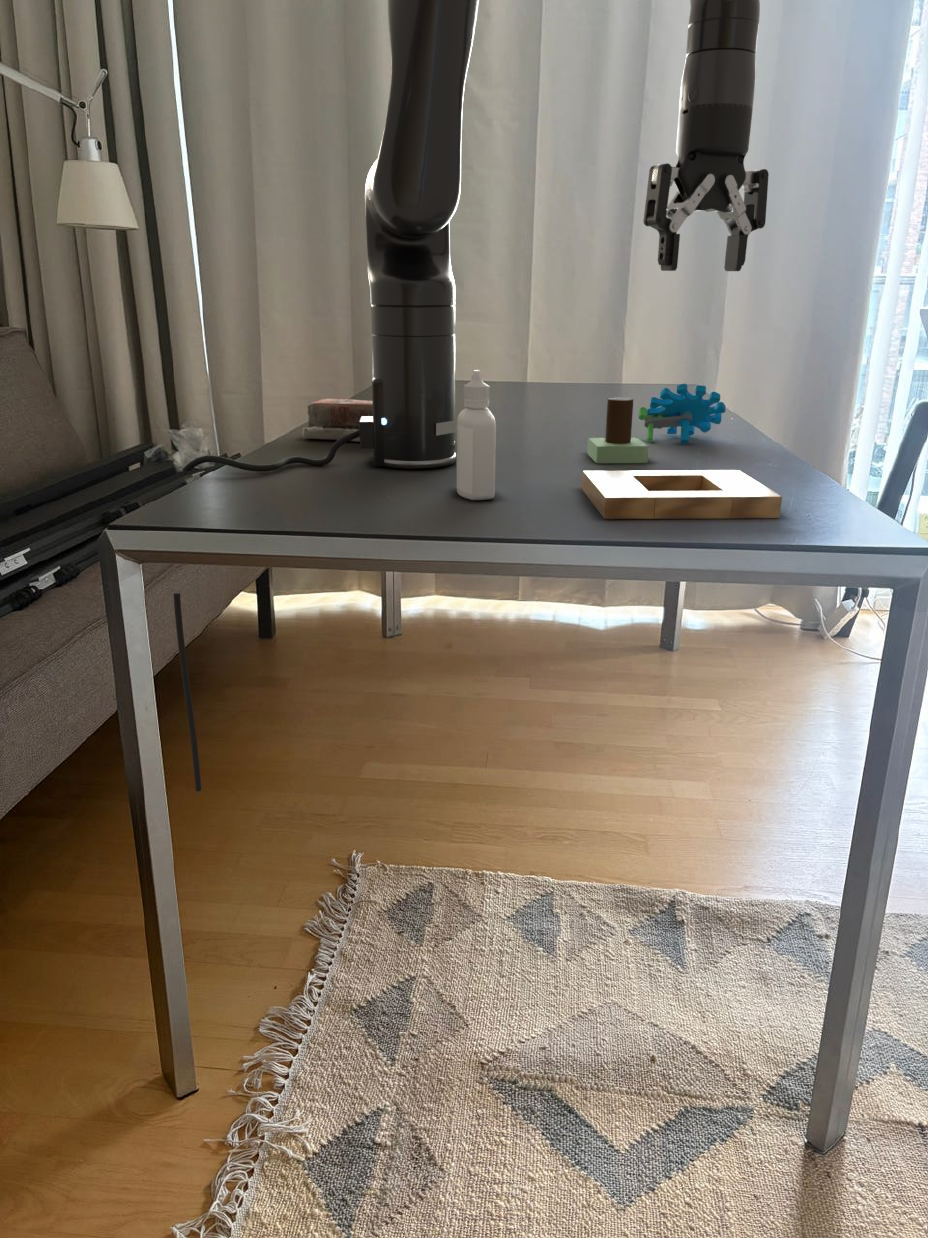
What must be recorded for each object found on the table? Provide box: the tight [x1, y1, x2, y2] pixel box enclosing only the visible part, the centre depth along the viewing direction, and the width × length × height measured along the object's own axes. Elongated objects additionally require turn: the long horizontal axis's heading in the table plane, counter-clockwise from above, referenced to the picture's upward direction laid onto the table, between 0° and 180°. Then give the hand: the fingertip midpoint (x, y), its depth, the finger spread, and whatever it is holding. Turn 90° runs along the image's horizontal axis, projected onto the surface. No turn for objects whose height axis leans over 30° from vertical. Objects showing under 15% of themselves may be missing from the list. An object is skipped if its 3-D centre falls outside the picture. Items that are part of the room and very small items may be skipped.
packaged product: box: [301, 397, 373, 443], centre depth 124 cm, size 18×5×10 cm
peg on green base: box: [587, 396, 649, 464], centre depth 110 cm, size 6×6×7 cm
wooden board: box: [581, 469, 783, 520], centre depth 89 cm, size 16×12×2 cm
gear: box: [638, 383, 726, 445], centre depth 122 cm, size 11×6×10 cm
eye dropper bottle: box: [456, 369, 497, 501], centre depth 90 cm, size 4×6×12 cm
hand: (700, 270), depth 103 cm, fingers open, 8 cm apart
